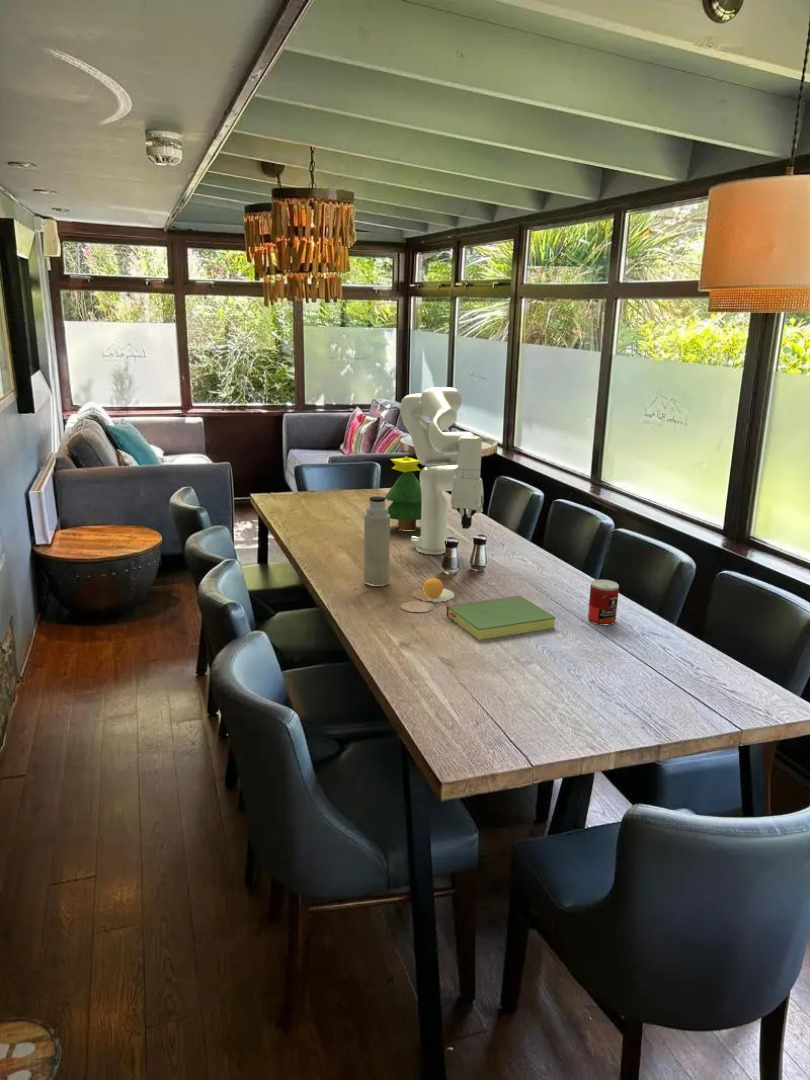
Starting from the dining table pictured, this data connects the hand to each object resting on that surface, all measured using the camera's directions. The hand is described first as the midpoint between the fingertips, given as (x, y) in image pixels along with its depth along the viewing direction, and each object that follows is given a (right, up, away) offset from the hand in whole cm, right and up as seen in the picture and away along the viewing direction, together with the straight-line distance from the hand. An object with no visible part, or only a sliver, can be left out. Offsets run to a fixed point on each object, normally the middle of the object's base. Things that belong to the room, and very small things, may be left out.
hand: (466, 527), depth 258 cm
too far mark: (-17, -24, -30) cm, 42 cm away
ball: (-12, -19, -23) cm, 31 cm away
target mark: (-12, -21, -20) cm, 31 cm away
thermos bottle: (-30, -18, -10) cm, 36 cm away
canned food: (+36, -27, -37) cm, 58 cm away
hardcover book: (+6, -28, -40) cm, 49 cm away
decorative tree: (-20, 0, +56) cm, 59 cm away
